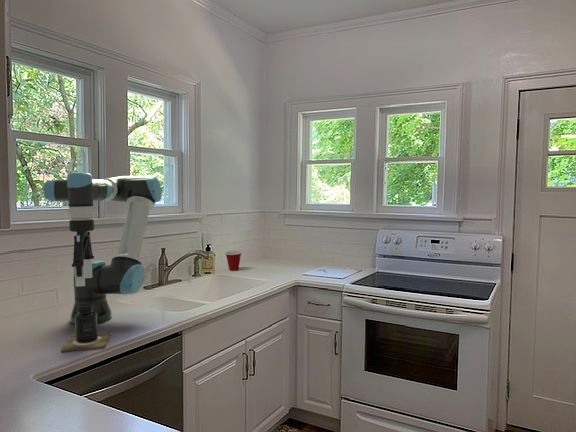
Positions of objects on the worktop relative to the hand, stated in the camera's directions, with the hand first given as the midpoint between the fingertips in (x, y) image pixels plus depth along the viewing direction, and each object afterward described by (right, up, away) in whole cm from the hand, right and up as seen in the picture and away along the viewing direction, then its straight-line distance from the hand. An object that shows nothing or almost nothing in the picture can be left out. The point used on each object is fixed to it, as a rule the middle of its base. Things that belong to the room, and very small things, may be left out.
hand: (84, 282), depth 148 cm
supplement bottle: (+1, -20, +1) cm, 20 cm away
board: (+1, -21, +1) cm, 21 cm away
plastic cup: (+34, -13, +136) cm, 140 cm away
